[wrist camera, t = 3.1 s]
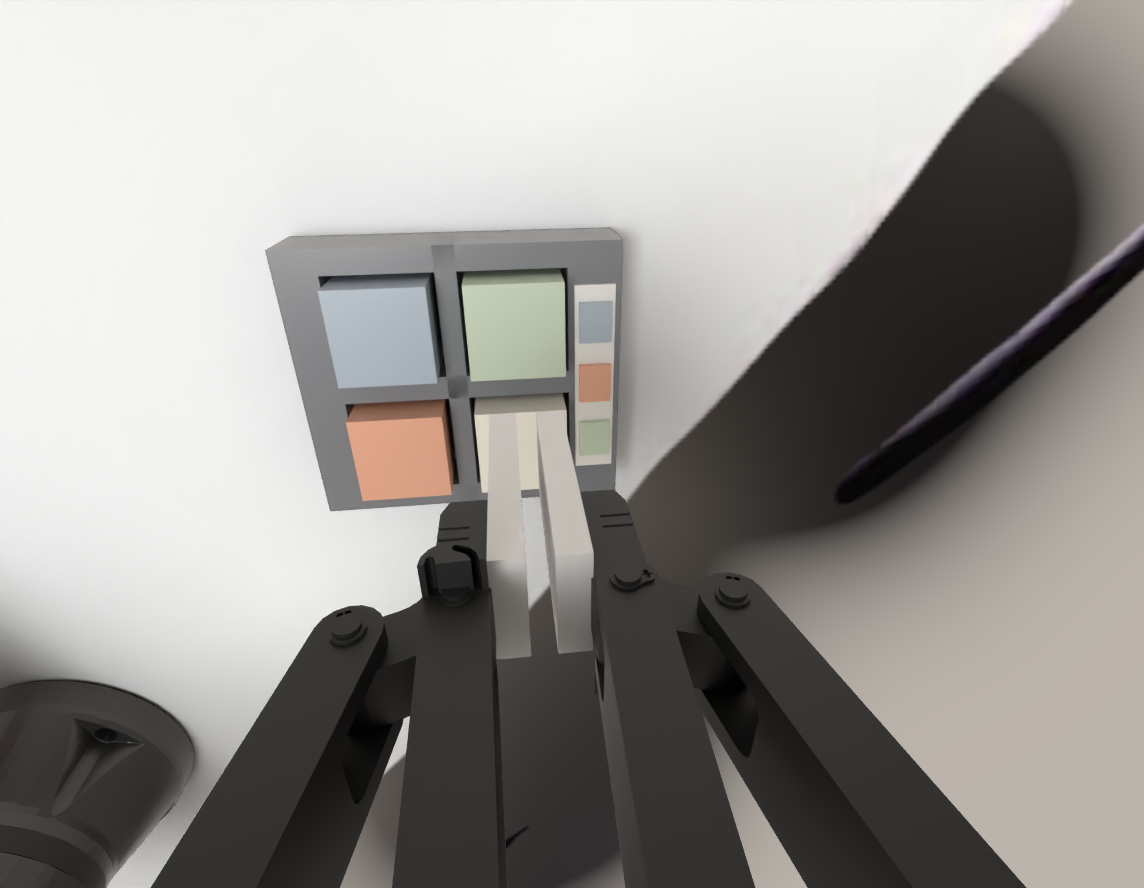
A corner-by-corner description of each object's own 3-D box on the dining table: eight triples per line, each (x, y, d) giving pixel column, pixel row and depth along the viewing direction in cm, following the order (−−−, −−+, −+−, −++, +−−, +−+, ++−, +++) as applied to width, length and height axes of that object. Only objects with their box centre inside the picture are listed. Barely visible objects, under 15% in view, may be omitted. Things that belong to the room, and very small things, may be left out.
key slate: (442, 361, 31) (437, 383, 29) (351, 365, 31) (338, 388, 28) (431, 271, 29) (425, 287, 26) (333, 275, 28) (317, 290, 26)
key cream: (562, 459, 35) (567, 486, 32) (483, 464, 34) (481, 492, 32) (560, 386, 33) (566, 409, 30) (476, 391, 32) (474, 415, 30)
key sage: (560, 355, 32) (565, 376, 29) (473, 359, 31) (470, 381, 29) (558, 267, 30) (564, 281, 27) (464, 270, 29) (461, 285, 26)
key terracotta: (455, 466, 34) (451, 494, 32) (373, 471, 34) (362, 501, 31) (446, 392, 32) (441, 417, 29) (358, 397, 32) (345, 422, 29)
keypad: (605, 460, 38) (616, 495, 34) (344, 478, 36) (327, 516, 33) (610, 227, 31) (624, 241, 27) (289, 236, 29) (261, 252, 26)
